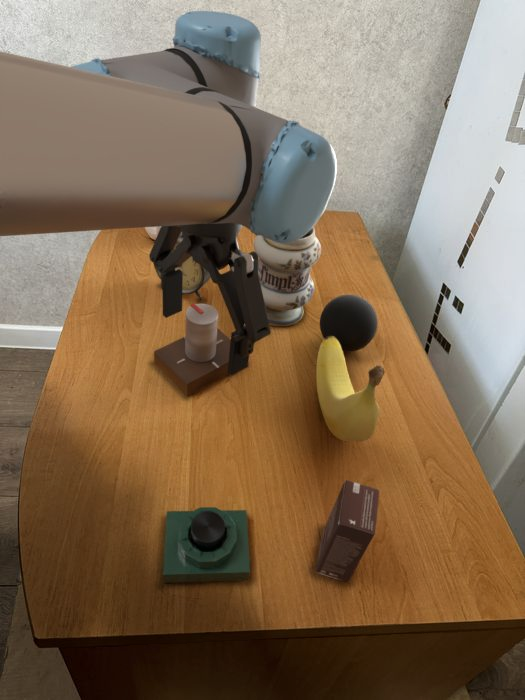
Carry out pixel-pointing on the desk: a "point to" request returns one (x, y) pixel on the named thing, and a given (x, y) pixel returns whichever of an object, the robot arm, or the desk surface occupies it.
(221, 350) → the dial panel
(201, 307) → the dial
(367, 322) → the decorative ball
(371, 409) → the banana
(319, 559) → the box
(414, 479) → the desk surface
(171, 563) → the button box
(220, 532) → the button
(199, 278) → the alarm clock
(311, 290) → the apothecary jar
